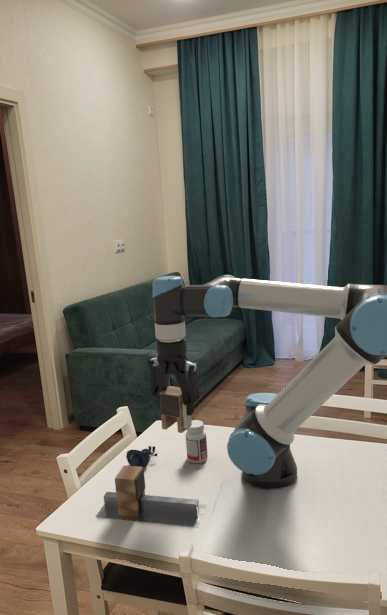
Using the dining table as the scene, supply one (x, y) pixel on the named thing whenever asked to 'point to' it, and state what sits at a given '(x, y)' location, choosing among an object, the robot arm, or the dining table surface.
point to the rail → (157, 510)
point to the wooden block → (129, 490)
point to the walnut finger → (172, 408)
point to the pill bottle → (196, 442)
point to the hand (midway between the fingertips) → (176, 423)
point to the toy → (140, 456)
